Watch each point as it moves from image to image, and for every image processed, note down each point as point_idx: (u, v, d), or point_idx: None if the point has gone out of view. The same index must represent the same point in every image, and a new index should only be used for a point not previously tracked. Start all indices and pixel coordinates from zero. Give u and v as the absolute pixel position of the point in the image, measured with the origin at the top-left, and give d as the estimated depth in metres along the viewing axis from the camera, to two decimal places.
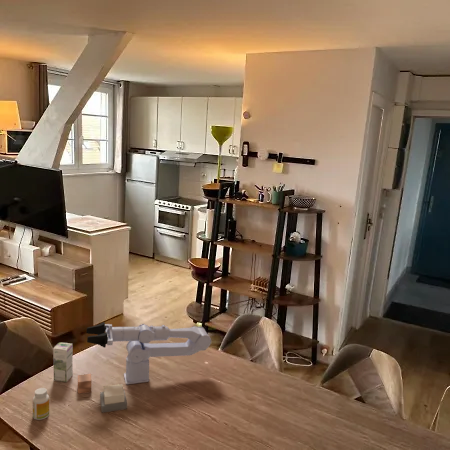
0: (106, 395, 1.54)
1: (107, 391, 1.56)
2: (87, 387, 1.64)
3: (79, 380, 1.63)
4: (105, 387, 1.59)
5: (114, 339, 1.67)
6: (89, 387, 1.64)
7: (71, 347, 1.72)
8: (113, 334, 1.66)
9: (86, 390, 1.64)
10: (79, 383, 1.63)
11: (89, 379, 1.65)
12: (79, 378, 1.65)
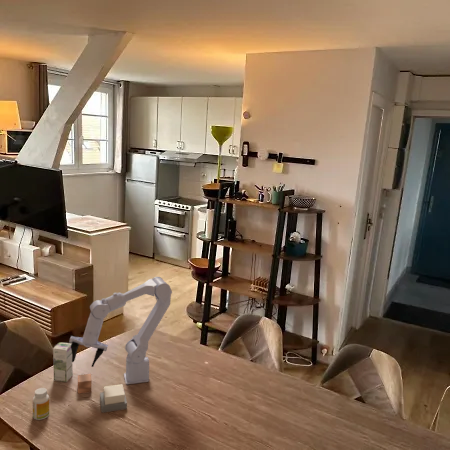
0: (106, 395, 1.54)
1: (107, 392, 1.57)
2: (87, 387, 1.64)
3: (79, 380, 1.63)
4: (105, 387, 1.59)
5: None
6: (89, 387, 1.64)
7: None
8: (95, 342, 1.63)
9: (86, 390, 1.64)
10: (79, 383, 1.63)
11: (89, 379, 1.65)
12: (79, 378, 1.65)
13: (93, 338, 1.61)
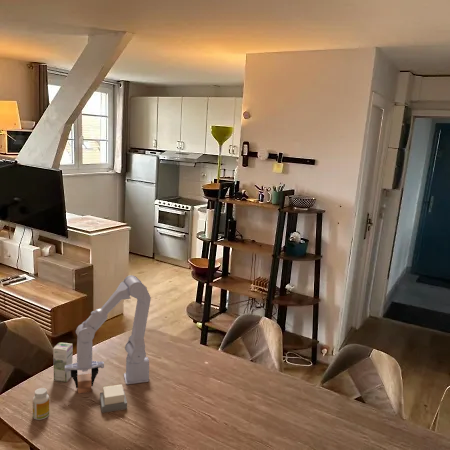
0: (106, 395, 1.54)
1: (107, 392, 1.56)
2: (87, 387, 1.64)
3: (79, 380, 1.63)
4: (105, 388, 1.59)
5: None
6: (89, 387, 1.64)
7: (71, 347, 1.72)
8: (91, 363, 1.64)
9: (86, 390, 1.64)
10: (79, 383, 1.63)
11: (89, 379, 1.65)
12: (79, 378, 1.65)
13: (88, 361, 1.62)
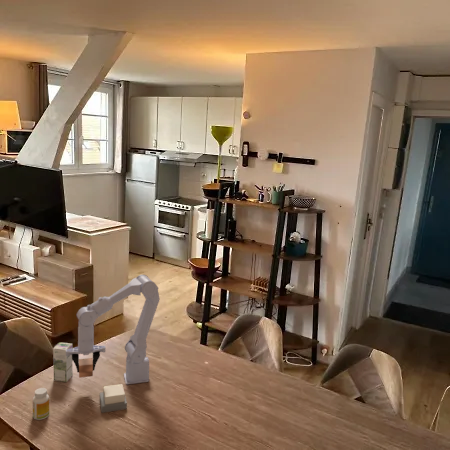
0: (106, 395, 1.54)
1: (107, 391, 1.57)
2: (89, 371, 1.62)
3: (80, 364, 1.62)
4: (105, 387, 1.59)
5: None
6: (90, 371, 1.63)
7: (71, 347, 1.72)
8: (93, 347, 1.62)
9: (87, 374, 1.63)
10: (80, 367, 1.61)
11: (90, 363, 1.63)
12: (80, 362, 1.63)
13: (89, 345, 1.60)
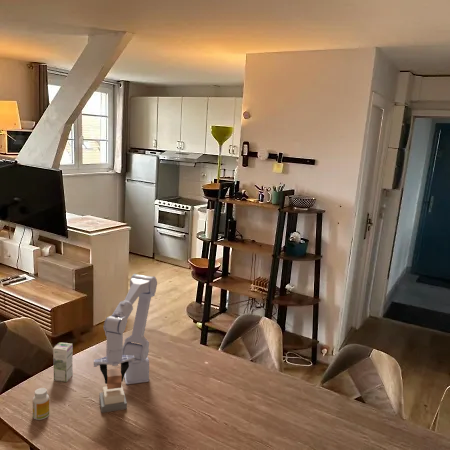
0: (106, 395, 1.54)
1: (106, 392, 1.56)
2: (117, 382, 1.55)
3: (109, 375, 1.54)
4: (104, 387, 1.59)
5: None
6: (119, 382, 1.55)
7: (71, 347, 1.72)
8: (121, 357, 1.55)
9: (116, 385, 1.55)
10: (109, 378, 1.53)
11: (119, 374, 1.55)
12: (108, 373, 1.56)
13: (118, 355, 1.53)
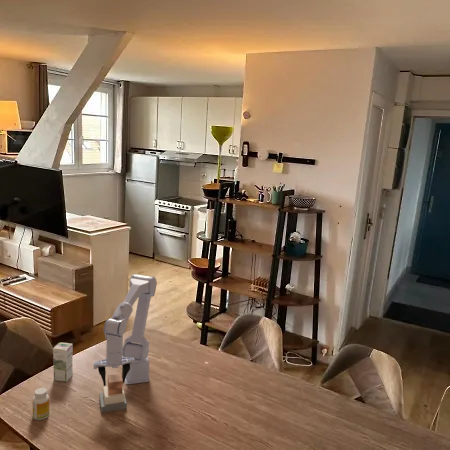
0: (106, 395, 1.54)
1: (107, 392, 1.56)
2: (118, 388, 1.56)
3: (110, 380, 1.55)
4: (105, 387, 1.59)
5: None
6: (120, 388, 1.56)
7: (71, 347, 1.71)
8: (121, 360, 1.55)
9: (117, 391, 1.56)
10: (110, 384, 1.54)
11: (120, 379, 1.56)
12: (110, 378, 1.56)
13: (118, 357, 1.53)
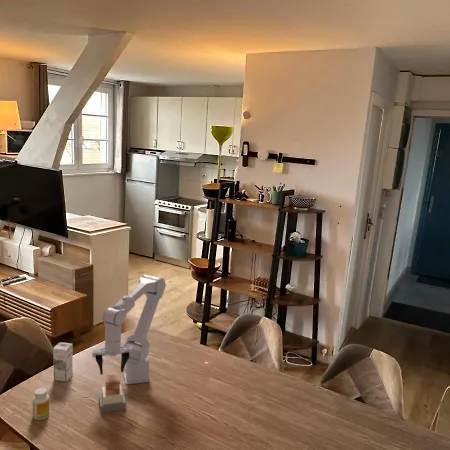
0: (104, 395, 1.54)
1: (105, 392, 1.56)
2: (116, 389, 1.55)
3: (107, 381, 1.55)
4: (103, 387, 1.59)
5: None
6: (117, 389, 1.55)
7: (71, 347, 1.72)
8: (119, 349, 1.59)
9: (114, 392, 1.55)
10: (107, 384, 1.54)
11: (117, 380, 1.56)
12: (107, 379, 1.56)
13: (117, 346, 1.57)
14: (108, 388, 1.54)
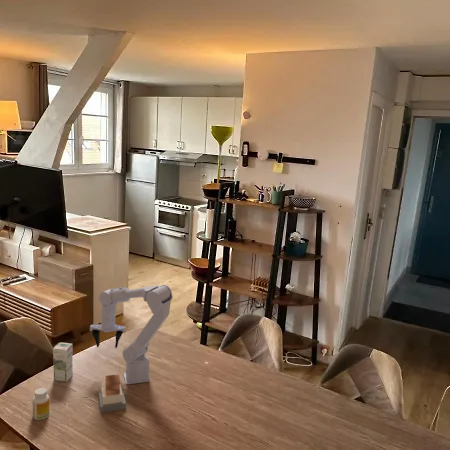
0: (104, 395, 1.54)
1: (105, 392, 1.56)
2: (116, 389, 1.55)
3: (107, 381, 1.55)
4: (103, 387, 1.59)
5: None
6: (117, 389, 1.55)
7: (71, 347, 1.71)
8: (113, 326, 1.77)
9: (114, 392, 1.55)
10: (107, 384, 1.54)
11: (117, 380, 1.56)
12: (107, 379, 1.56)
13: (110, 323, 1.75)
14: (108, 388, 1.54)
